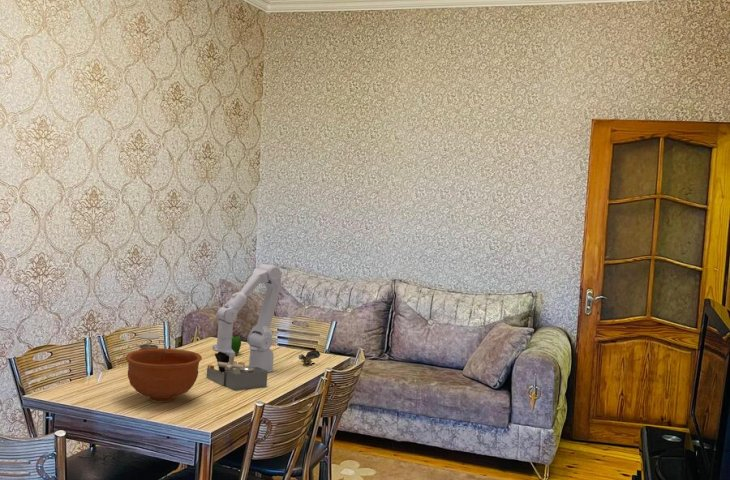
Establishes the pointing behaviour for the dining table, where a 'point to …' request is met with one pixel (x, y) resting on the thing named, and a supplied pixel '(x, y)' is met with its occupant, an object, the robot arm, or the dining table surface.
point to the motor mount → (239, 377)
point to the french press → (150, 337)
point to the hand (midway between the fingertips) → (222, 371)
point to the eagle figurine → (309, 357)
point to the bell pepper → (236, 344)
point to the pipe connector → (230, 364)
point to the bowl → (162, 372)
